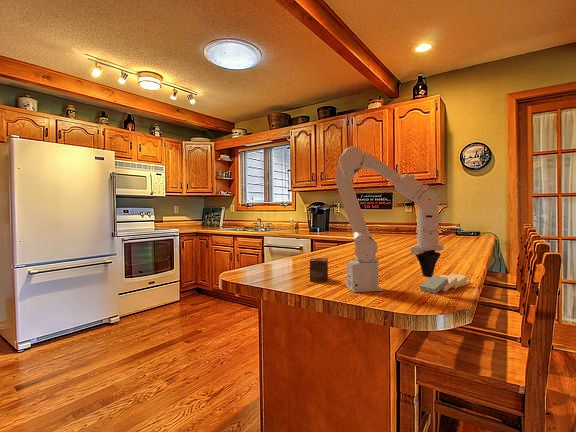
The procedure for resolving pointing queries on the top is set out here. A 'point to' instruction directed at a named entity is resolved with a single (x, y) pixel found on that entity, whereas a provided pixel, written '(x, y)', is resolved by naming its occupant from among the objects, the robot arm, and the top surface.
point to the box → (319, 269)
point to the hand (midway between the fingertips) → (427, 276)
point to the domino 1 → (434, 284)
